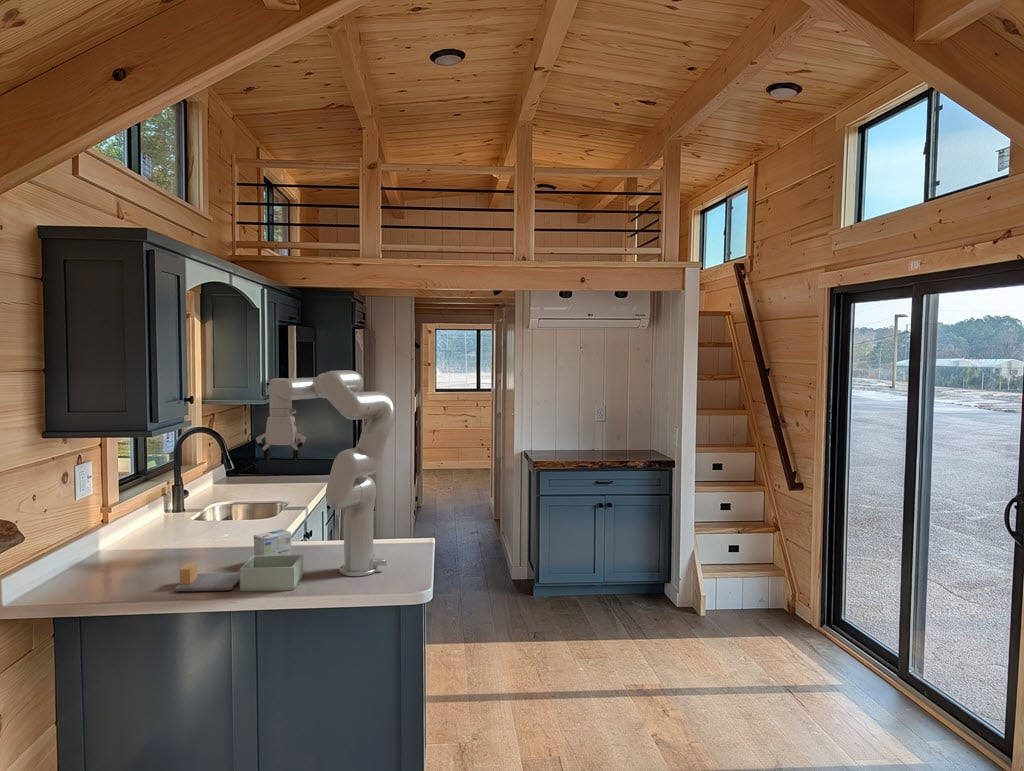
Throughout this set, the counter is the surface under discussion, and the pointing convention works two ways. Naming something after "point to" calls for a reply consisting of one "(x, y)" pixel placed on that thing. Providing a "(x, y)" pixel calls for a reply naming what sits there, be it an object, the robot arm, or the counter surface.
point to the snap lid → (205, 580)
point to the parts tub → (271, 573)
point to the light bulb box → (272, 543)
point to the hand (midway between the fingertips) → (281, 460)
